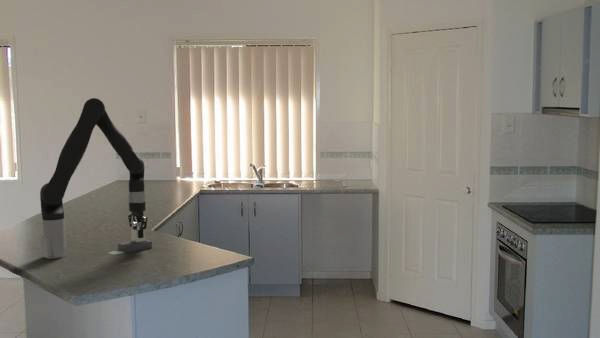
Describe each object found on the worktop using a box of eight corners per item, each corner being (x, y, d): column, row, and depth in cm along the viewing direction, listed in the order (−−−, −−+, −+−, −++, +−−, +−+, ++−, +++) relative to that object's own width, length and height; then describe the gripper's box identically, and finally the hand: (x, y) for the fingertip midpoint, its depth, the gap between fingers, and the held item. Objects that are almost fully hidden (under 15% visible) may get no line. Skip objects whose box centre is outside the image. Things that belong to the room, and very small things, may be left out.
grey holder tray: (127, 253, 296) (126, 246, 296) (118, 250, 302) (118, 243, 301) (152, 248, 305) (151, 241, 305) (143, 246, 311) (142, 239, 310)
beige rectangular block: (136, 247, 301) (136, 230, 301) (131, 245, 305) (131, 228, 304) (145, 245, 304) (144, 228, 304) (140, 244, 308) (139, 227, 307)
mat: (113, 255, 292) (113, 254, 292) (107, 253, 296) (106, 252, 296) (125, 253, 296) (125, 252, 296) (118, 251, 300) (118, 250, 300)
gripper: (121, 200, 305) (123, 236, 307) (137, 203, 295) (139, 240, 296) (136, 198, 310) (137, 234, 312) (152, 201, 300) (153, 238, 302)
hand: (138, 237), depth 304 cm, fingers closed on beige rectangular block, 4 cm apart
